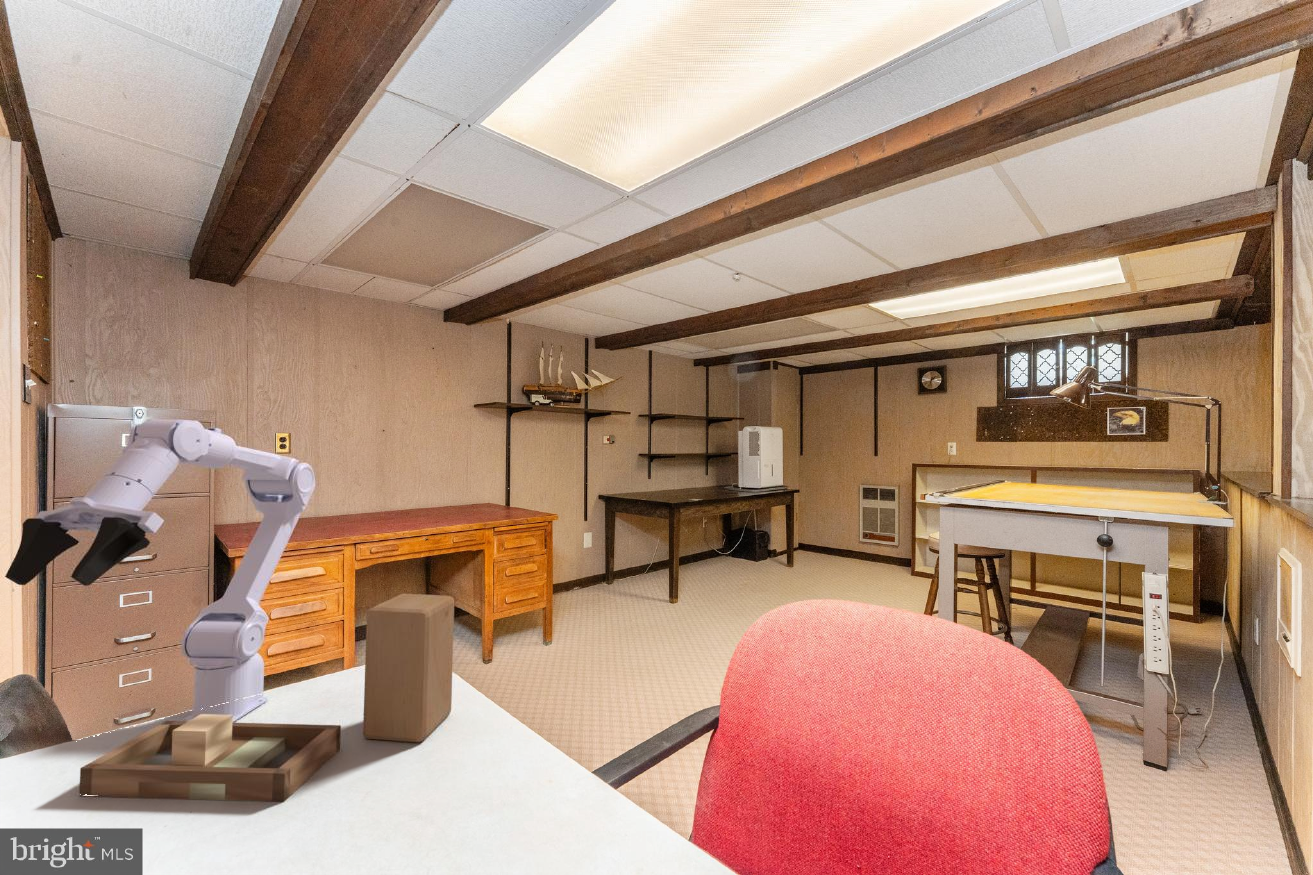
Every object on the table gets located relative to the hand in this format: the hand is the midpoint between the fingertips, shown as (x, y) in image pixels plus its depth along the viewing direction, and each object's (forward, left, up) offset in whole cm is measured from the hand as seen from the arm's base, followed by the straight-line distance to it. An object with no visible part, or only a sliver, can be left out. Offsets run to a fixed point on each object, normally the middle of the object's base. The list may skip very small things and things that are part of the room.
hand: (47, 581), depth 64 cm
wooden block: (-25, +31, -29) cm, 49 cm away
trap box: (-12, +11, -28) cm, 33 cm away
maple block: (-12, +9, -26) cm, 30 cm away
